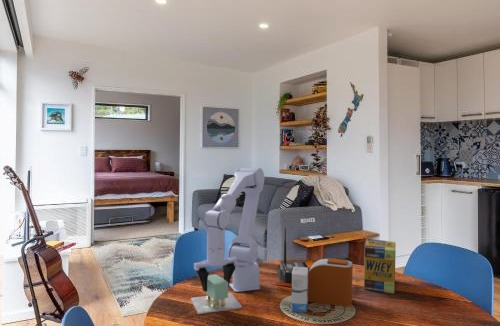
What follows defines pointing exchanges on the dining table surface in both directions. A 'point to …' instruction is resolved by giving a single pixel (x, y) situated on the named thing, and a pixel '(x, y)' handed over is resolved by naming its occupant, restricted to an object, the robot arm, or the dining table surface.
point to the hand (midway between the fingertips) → (215, 288)
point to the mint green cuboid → (217, 287)
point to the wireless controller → (288, 266)
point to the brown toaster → (330, 282)
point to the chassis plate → (205, 304)
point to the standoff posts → (215, 301)
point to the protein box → (379, 266)
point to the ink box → (299, 289)
